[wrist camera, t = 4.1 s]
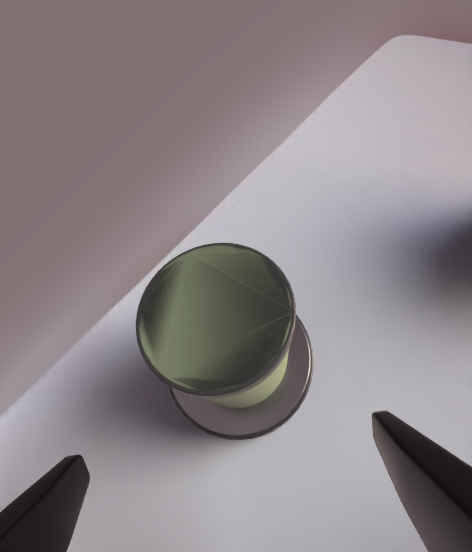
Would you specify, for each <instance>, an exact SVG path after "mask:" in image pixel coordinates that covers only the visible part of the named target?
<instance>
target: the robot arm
mask: <svg viewBox="0 0 472 552" xmlns="http://www.w3.org/2000/svg"><path fill="white" fill-rule="evenodd" d="M372 427H373V437H374V441H375V443H376V446H377V448H378V450H379V453H380V455H381V457H382V459H383V462H384V464H385V466H386V469H387V471H388V473H389V475H390V478H391V480H392V482H393V484H394V487H395V489H396V491H397V494H398V496H399V498H400V500H401V502H402V504H403V506H404V508H405V510H406V512H407V514H408V515H409V517H410V519H411V521H412V523H413V525H414V526H415V528H416V530H417V532H418V534H419V535H420V537H421V539H422V541H423V543H424V545H425V546H426V548H427V550H428V552H472V467H471V466H470V465H468V464H467V463H465V462H464V461H462V460H461V459H459V458H458V457H456V456H455V455H453V454H452V453H450V452H449V451H447V450H446V449H444V448H443V447H441V446H440V445H438V444H436V443H435V442H433V441H432V440H430V439H429V438H427V437H426V436H424V435H423V434H421V433H420V432H418V431H417V430H415V429H414V428H412V427H411V426H409V425H408V424H406V423H405V422H403V421H402V420H400V419H399V418H397V417H396V416H394V415H393V414H391V413H390V412H388V411H378V412H374V413H372ZM89 480H90V475H89V471H88V469H87V467H86V464H85V462H84V459H83V457H82V456H81V455H73V456H68V457H65V458H64V459H63V460H62V461H60V462H59V463H58V464H57V465H56V466H55V467H53V468H52V469H51V470H50V471H49V472H47V473H46V474H45V475H44V476H43V477H41V478H40V479H39V480H38V481H37V482H36V483H34V484H33V485H32V486H31V487H30V488H28V489H27V490H26V491H25V492H24V493H22V494H21V495H20V496H19V497H18V498H17V499H15V500H14V501H13V502H12V503H11V504H9V505H8V506H7V507H6V508H5V509H3V510H2V511H1V512H0V552H67V549H68V546H69V544H70V541H71V538H72V535H73V532H74V529H75V526H76V523H77V520H78V516H79V513H80V510H81V507H82V504H83V501H84V497H85V494H86V491H87V488H88V485H89Z"/></svg>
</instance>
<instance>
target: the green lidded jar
mask: <svg viewBox="0 0 472 552" xmlns="http://www.w3.org/2000/svg"><path fill="white" fill-rule="evenodd" d="M295 320H296V306H295V299H294V295H293V291H292V289H291V286H290V283H289V282H288V280H287V278H286V276H285V275H284V273H283V272H282V271H281V269H280V268H279V267H278V266H277V265H276V264H275V263H274V262H273V261H272V260H271V259H269V258H268V257H267V256H265V255H264V254H262V253H260V252H259V251H257V250H254V249H252V248H250V247H246V246H243V245H238V244H233V243H213V244H207V245H203V246H199V247H195V248H193V249H190V250H188V251H186V252H184V253H182V254H180V255H178V256H177V257H175V258H173V259H172V260H171V261H169V262H168V263H167V264H166V265H164V266H163V267H162V268H161V269H160V270H159V271H158V272H157V273H156V275H155V276H154V277H153V278H152V280H151V281H150V283H149V284H148V286H147V287H146V289H145V291H144V293H143V295H142V298H141V301H140V303H139V307H138V311H137V318H136V335H137V341H138V345H139V348H140V351H141V354H142V356H143V358H144V360H145V362H146V363H147V365H148V366H149V368H150V369H151V370H152V372H153V373H154V374H155V375H156V376H157V377H158V378H159V379H161V380H162V381H163V382H165V383H166V384H167V385H169V386H171V387H173V388H175V389H177V390H179V391H181V392H184V393H187V394H189V395H192V396H197V397H202V398H204V399H206V400H209V401H211V402H213V403H215V404H218V405H220V406H223V407H228V408H245V407H249V406H253V405H255V404H257V403H259V402H261V401H263V400H264V399H266V398H267V397H268V396H270V395H271V394H272V393H273V392H274V391H275V389H276V388H277V387H278V385H279V384H280V382H281V380H282V378H283V376H284V373H285V371H286V366H287V360H288V353H289V347H290V344H291V341H292V338H293V333H294V328H295Z"/></svg>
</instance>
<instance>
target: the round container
mask: <svg viewBox="0 0 472 552" xmlns="http://www.w3.org/2000/svg"><path fill="white" fill-rule="evenodd" d="M312 374H313V351H312V346H311V342H310V339H309V336H308V333H307V331H306V329H305V327H304V325H303V323H302V322H301V320H300V319H299V318H298V316H297V315H296V320H295V328H294V333H293V338H292V341H291V344H290V347H289V353H288V360H287V366H286V371H285V373H284V376H283V378H282V380H281V382H280V384H279V385H278V387H277V388H276V389H275V391H274V392H273V393H272V394H271V395H270V396H268V397H267V398H266V399H264V400H263V401H261V402H259V403H257V404H255V405H253V406H249V407H245V408H228V407H223V406H220V405H218V404H215V403H213V402H211V401H209V400H206V399H204V398H202V397H197V396H192V395H189V394H187V393H184V392H181V391H179V390H177V389H175V388H173V387H171V386H169V388H170V391H171V393H172V396H173V398H174V400H175V402H176V404H177V406H178V407H179V409H180V410H181V412H182V413H183V414H184V415H185V416H186V417H187V418H188V420H189V421H190V422H192V423H193V424H194V425H195V426H197V427H198V428H199V429H201V430H203V431H205V432H207V433H208V434H211V435H214V436H217V437H220V438H225V439H231V440H244V439H252V438H256V437H260V436H264V435H266V434H269V433H271V432H273V431H275V430H277V429H278V428H280V427H281V426H282V425H284V424H285V423H286V422H287V421H288V420H289V419H290V418H291V417H292V416H293V414H294V413H295V412H296V411H297V410H298V408H299V407H300V405H301V404H302V402H303V401H304V399H305V396H306V394H307V392H308V390H309V386H310V383H311V379H312Z"/></svg>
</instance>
